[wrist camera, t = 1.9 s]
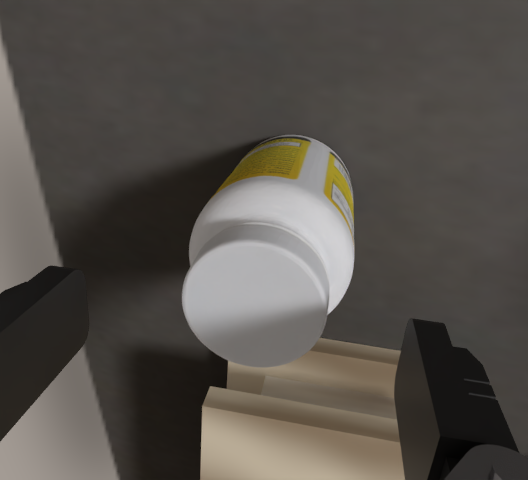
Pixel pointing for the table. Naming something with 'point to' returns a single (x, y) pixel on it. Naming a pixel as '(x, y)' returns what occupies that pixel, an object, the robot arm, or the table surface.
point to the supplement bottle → (271, 253)
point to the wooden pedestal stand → (306, 418)
